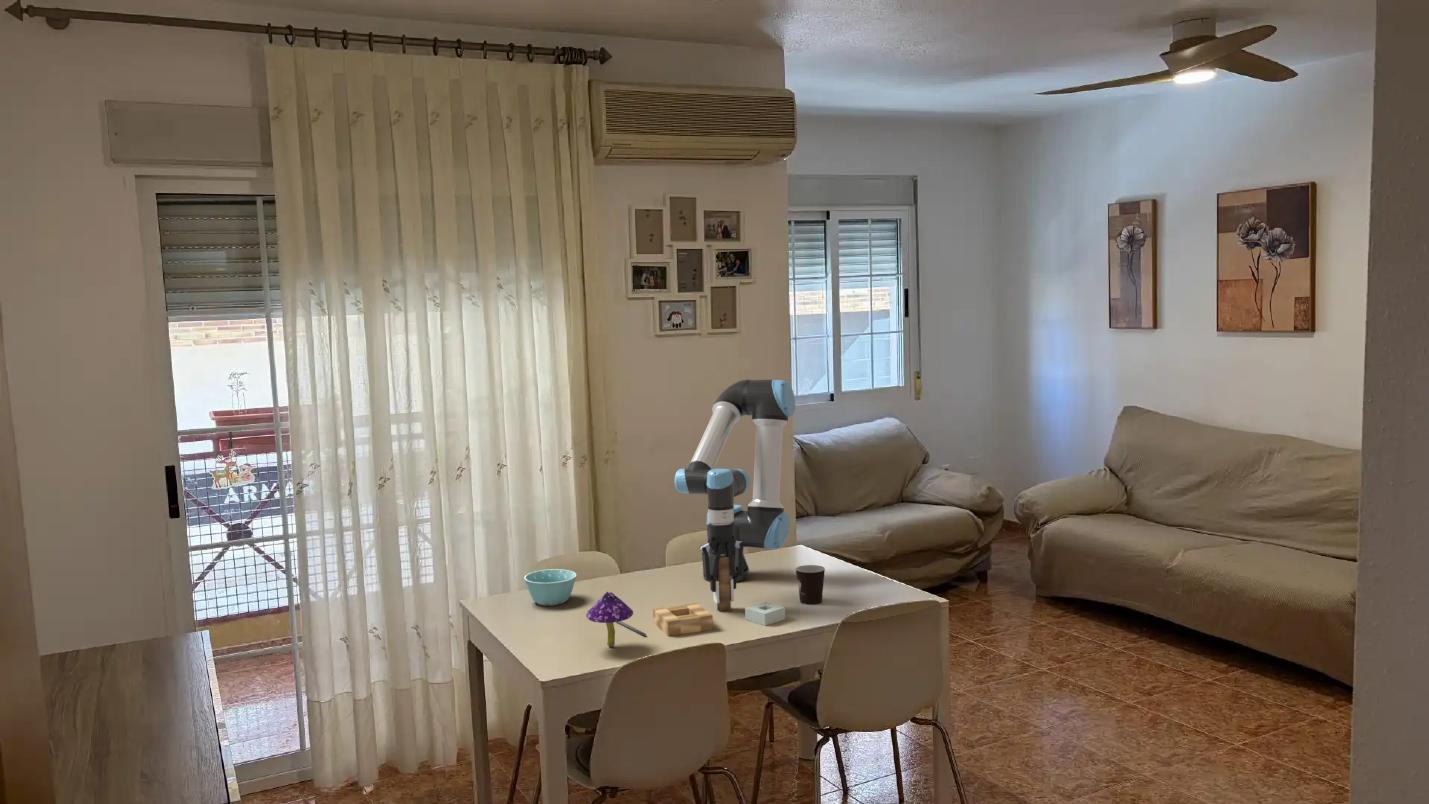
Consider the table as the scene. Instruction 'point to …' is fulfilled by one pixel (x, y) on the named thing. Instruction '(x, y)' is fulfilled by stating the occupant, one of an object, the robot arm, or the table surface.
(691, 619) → the wooden square socket block
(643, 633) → the dark grey rod
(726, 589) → the brown wooden bar
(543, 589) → the bowl
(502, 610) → the table surface
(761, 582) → the table surface
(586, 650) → the table surface
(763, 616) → the grey square socket block
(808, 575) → the coffee mug
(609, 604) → the decorative mushroom
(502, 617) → the table surface
